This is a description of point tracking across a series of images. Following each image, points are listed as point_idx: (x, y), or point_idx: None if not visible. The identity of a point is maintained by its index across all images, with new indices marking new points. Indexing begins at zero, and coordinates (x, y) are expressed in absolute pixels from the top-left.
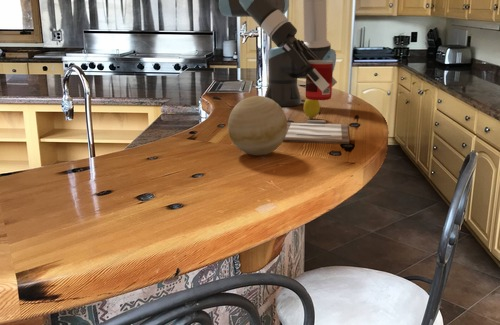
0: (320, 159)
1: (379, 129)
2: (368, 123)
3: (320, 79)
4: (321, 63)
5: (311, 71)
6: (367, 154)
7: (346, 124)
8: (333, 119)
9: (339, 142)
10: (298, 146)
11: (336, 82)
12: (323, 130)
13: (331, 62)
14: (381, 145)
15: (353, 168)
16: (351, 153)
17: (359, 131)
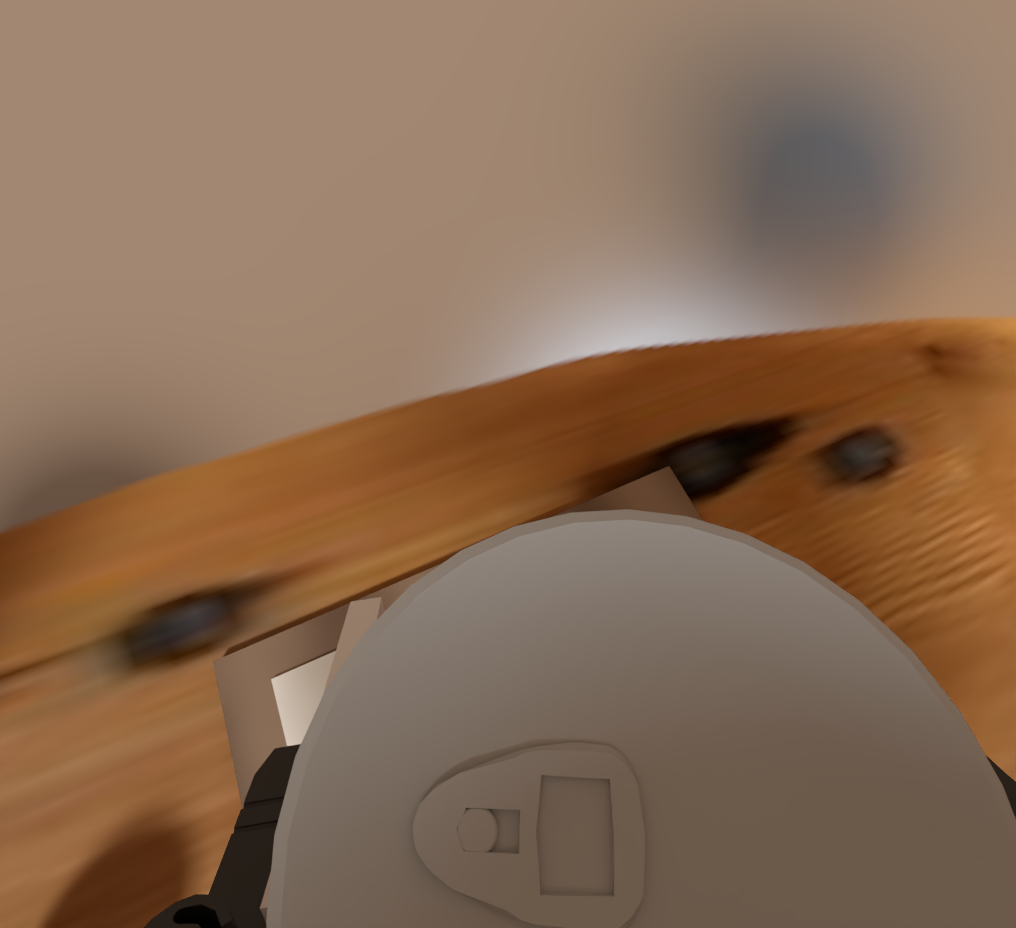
0: (992, 465)
1: (261, 464)
2: (101, 572)
3: None
4: (883, 644)
5: (1004, 781)
6: (776, 351)
7: (237, 655)
8: (4, 859)
9: (692, 508)
10: None
11: (380, 601)
12: None
13: (626, 512)
14: (599, 355)
15: (985, 328)
16: (809, 403)
17: (359, 533)
